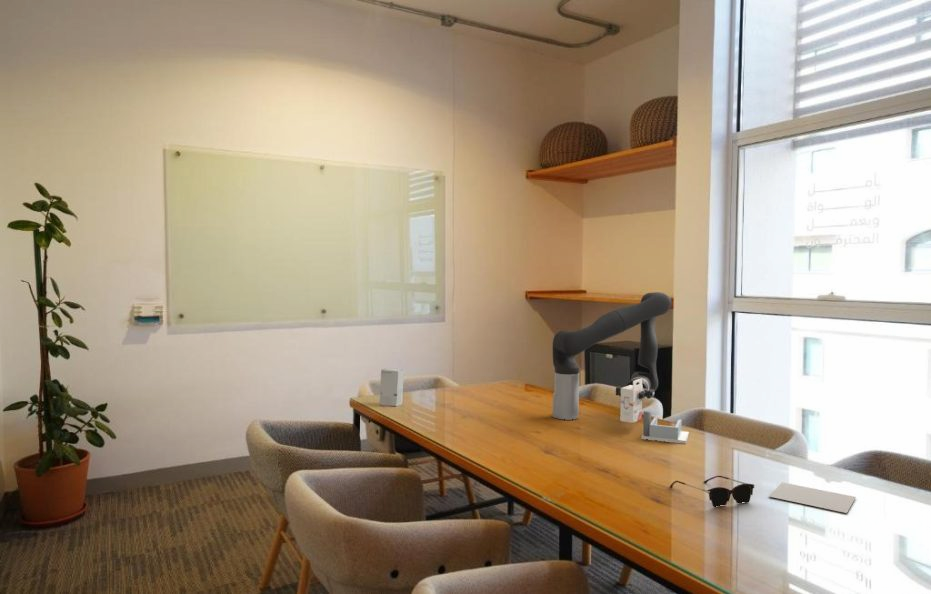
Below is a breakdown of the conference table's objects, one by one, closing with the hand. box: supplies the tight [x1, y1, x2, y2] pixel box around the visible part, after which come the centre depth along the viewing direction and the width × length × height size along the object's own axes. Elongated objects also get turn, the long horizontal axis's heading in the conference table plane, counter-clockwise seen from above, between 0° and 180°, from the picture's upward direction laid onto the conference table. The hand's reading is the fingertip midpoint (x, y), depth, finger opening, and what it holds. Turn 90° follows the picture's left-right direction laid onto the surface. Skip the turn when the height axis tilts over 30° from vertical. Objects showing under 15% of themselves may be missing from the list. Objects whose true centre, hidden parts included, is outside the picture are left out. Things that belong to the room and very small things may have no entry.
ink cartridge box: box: [619, 378, 643, 424], centre depth 222 cm, size 9×5×15 cm, turn 143°
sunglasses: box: [669, 475, 755, 508], centre depth 157 cm, size 14×16×5 cm
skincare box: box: [379, 367, 405, 407], centre depth 262 cm, size 8×6×15 cm
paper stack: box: [768, 482, 856, 514], centre depth 156 cm, size 23×25×1 cm
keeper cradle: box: [641, 410, 690, 445], centre depth 213 cm, size 14×13×9 cm
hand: (630, 395), depth 220 cm, fingers closed on ink cartridge box, 6 cm apart
